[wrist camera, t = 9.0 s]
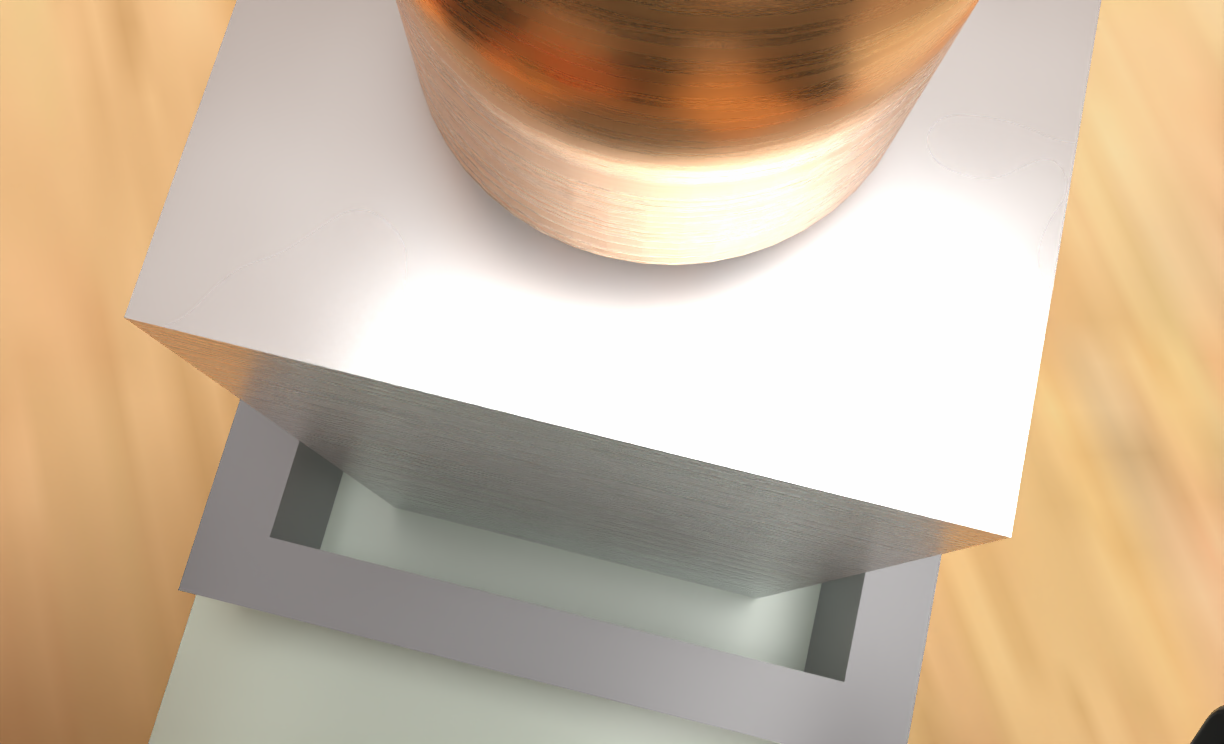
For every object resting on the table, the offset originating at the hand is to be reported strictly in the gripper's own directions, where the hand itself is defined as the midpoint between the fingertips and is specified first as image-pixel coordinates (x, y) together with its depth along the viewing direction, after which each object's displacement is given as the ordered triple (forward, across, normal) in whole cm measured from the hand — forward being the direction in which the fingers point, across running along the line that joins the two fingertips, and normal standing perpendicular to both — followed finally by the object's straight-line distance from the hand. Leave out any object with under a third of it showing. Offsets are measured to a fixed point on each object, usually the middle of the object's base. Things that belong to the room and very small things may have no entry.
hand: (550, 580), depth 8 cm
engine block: (+8, 0, +3) cm, 8 cm away
